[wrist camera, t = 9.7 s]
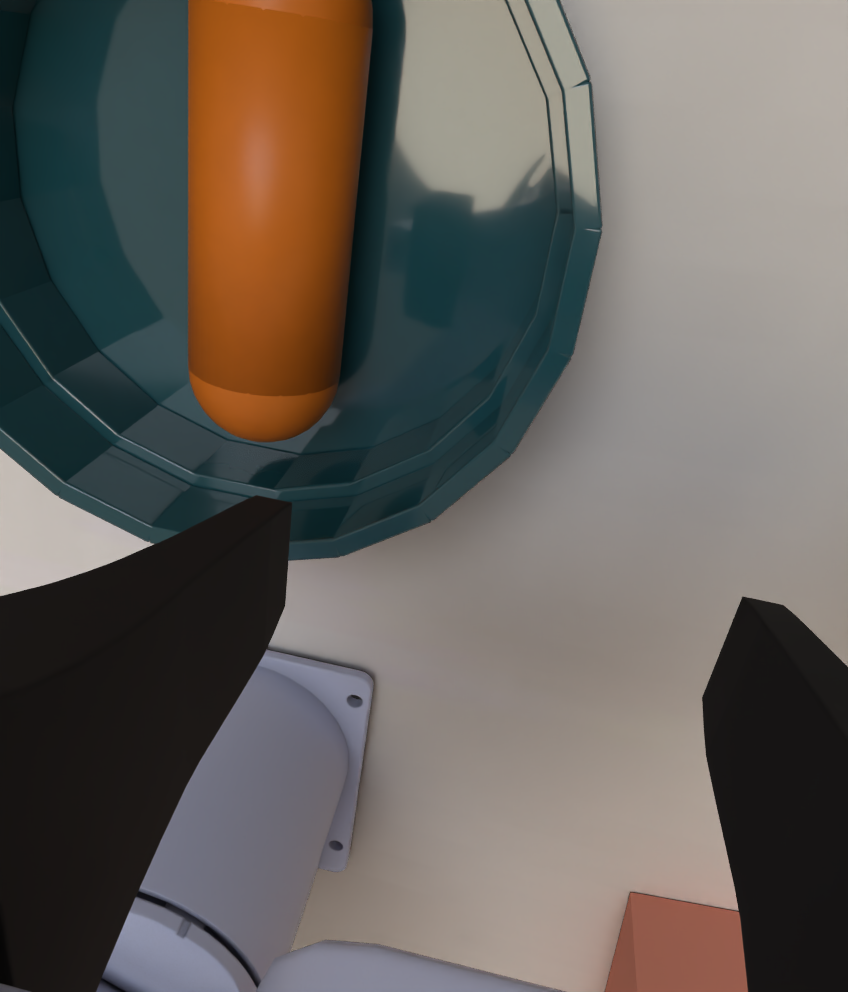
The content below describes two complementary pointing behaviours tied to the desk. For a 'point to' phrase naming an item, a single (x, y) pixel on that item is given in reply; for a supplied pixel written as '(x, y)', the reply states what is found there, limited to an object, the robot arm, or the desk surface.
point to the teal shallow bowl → (372, 281)
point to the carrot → (272, 205)
